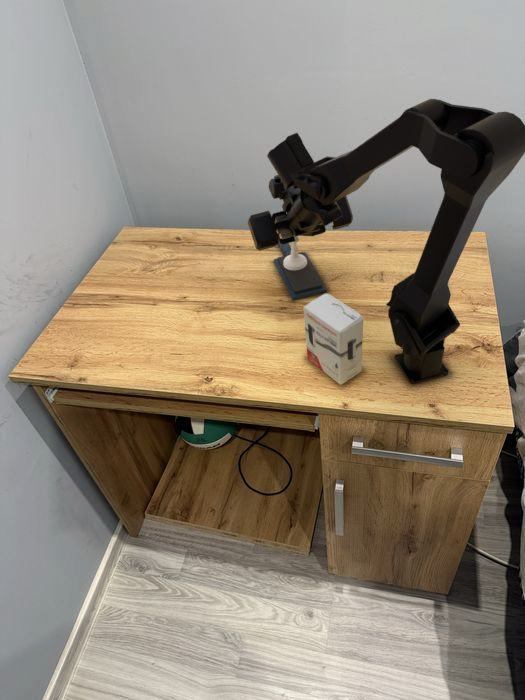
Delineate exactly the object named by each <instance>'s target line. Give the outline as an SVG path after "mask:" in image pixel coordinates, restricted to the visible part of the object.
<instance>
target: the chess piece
mask: <svg viewBox="0 0 525 700" xmlns="http://www.w3.org/2000/svg"><path fill="white" fill-rule="evenodd" d="M294 238H295V241H294V242H290V243H289V244H291V245H290V247H291V255H288V256H287V257H285V259H284V261H283V265H284V267H285V268H286V269H289V270H300V269H302V268H304V267H305V266H306V265H307V259H306V257H305V256H303V255H301V254H298V253H299V250H298V249H299V248H298V245H297V243H298V242H299V241H300V238H299V236H297V237H295V236H294Z"/></svg>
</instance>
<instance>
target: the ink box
mask: <svg viewBox="0 0 525 700" xmlns="http://www.w3.org/2000/svg"><path fill="white" fill-rule="evenodd" d="M302 309H303V320H304V321H303V322H304V333H305V343H306V345H305V346H306V358H307V360H308V361H310V362H311V363H312V364H313V365H315V366H316V367H317V368H318V369H320V370H321V371H322V372H323V373H324V374H326V375H327V376H329V377H330V378H331V379H332V380H334V381H335V382H336V383H337V384H339V385H340V386H342V385H344V384H345V383H346V382H348V381H350V380H351V379H352V378H354V377H356V376H357V375H359V374H360V373H361V372H362V370H363V347H364V345H363V343H364V342H363V339H364V317H363V316H362V314H361V313H360V312H358V311H356V310H355V309H353V308H352V307H350V306H348V305H347V304H345V302H344V303H343V302H342V301H340V300H339V299H338V298H336V297H334V296H333V295H331V294H330V293H327V292H326V293H322V295H320V296H318V297H317V298H315V299H313V300H312V301H310V302H308V303H307V304H304V305H303V307H302Z"/></svg>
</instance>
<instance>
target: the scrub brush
mask: <svg viewBox="0 0 525 700" xmlns="http://www.w3.org/2000/svg"><path fill="white" fill-rule="evenodd" d="M278 246H279V248H280V250H281V252H282V253H283V256H278V257H277V258H274V259H273V263H274V265H275V268H276V270H277V272H278V274H279V276H280V277H281V280H282V282H283V284H284V286H285V288H286V291H287V292H288V294H289V296H290V299H291V300H292V301H296V300H300V299H305V298H309V297H313V296H317V295H321V294H322V295H323V294H326V293H327V292H328V288H327V287H326V285H325V283H324V282H323V280H322V278H321V277H320V275H319V273H318V272H317V269H316V268H315V266H314V265H313V263H312V261H311V259H310V258H309V256H308V254H307V252H306V251H300V252H298V254H301V255H303V256H305V257H306V259H307V265H306V266H305V267H304V268H302V269H300V270H289V269H286V268H285V267H284V265H283V261H284V259H285V257H287V256H288V255H291V245H290V243H287V244H280V243H279V244H278Z"/></svg>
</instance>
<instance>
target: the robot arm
mask: <svg viewBox="0 0 525 700" xmlns="http://www.w3.org/2000/svg"><path fill="white" fill-rule="evenodd" d="M413 147H414V148H416V149H418V150H419V152H420V153H421V154H422V156H423V157H424V158H425V159H426V161H427V162H428V163H429V164H430V165H432V166H434V167H436V168H439V169H441V170H440V180H441V181H440V182H441V185H442V188H443V197H442V199H441V200H442V201H441V203H440V206H439V208H438V210H437V214H436V216H435V219H434V221H433V224H432V226H431V229H430V232H429V234H428V236H427V240H426V242H425V245H424V247H423V249H422V253H421V255H420V258H419V261H418V263H417V266H416V269H415V271H414V272H413V273H412V274H409V276H407V277H405V278H404V279H402V280H401V281H399V282H398V283H396V284H394V285H393V288H392V290H391V294H390V299H389V301H388V302H386V304H385V306H387V307H388V312H387V314H388V319H389V322H390V323H389V324H390V327H391V331H392V335H393V336H392V337H393V340H394V343H395V345H396V346H398V347H400V349H401V352H400V353H397V354H394V356H393V359H394V361H395V362H396V364H397V365H398V368H399V369H400V370H401V371H402V373H403V374H404V376H405V378H407V381H408V383H410V384H412V385H414V384H418V383H423V382H426V381H429V380H433V379H437V378H440V377H445V376H447V375H449V373H450V372H449V369H448V368H447V366H446V365H445V364H444V362H443V361H444V360H443V359H444V354H445V349H446V347H445V342H446V341H445V340H446V339H447V338H448V337H450V335H452V334H454V333H455V332H456V331H457V330H458V329H459V328H460V327H461V323H460V321H459V319H458V317H457V316H456V314H455V312H454V311H453V309H452V307H451V306H450V301H451V295H452V293H451V290H450V287H449V282H450V279H451V277H452V275H453V273H454V270H455V268H456V266H457V264H458V262H459V260H460V259H461V256H462V254H463V251H464V249H465V247H466V245H467V243H468V240H469V238H470V236H471V234H472V232H473V230H474V228H475V225H476V223H477V221H478V219H479V216H480V215H481V212H482V210H483V208H484V206H485V204H486V202H487V200H488V199H489V197H491V195H492V194H493V193H494V192H495V191H496V189H498V187H499V186H500V185H502V183H503V182H504V181H505V180H506V179H507V178H508V177H509V176H510V174H511V173H512V172H513V170H514V169H515V167H516V166H517V165H518V163H519V162H520V160H521V159H522V158H523V156H524V155H525V123H524V122H523V120H522V119H521V118H520V117H518V115H516V114H515V113H513V112H510V111H509V112H508V111H497V112H495V111H492V110H489V109H487V108H483V107H475V106H469V105H468V106H467V105H460V104H452V103H450V102H448V101H445V100H442V99H437V98H428V99H427V100H424V101H422V102H420V103H418V104H416V105H414V106H411V107H409V108H407V109H405V110H404V111H403V112H402V114H401V115H399V117H398V118H396V119H394V121H392V122H390V123H389V124H388V125H386V126H385V127H383V128H382V129H381V130H379V131H377V132H376V133H375V134H374V135H373V136H370V138H368V139H367V140H366V141H364V142H363V143H361V144H359V146H357V147H355V148H354V149H353V150H350V151H348V152H344V153H342V154H341V155H338V156H325V157H322V158H321V159H318V160H316V161H314V159H313V157H312V156H311V153H309V151H308V149H307V148H306V145H305V144H304V142H303V139H302V138H301V136H300V134H299V133H298V132H294V133H292V134H290V135H288V136H287V137H286V138H285V140H283V141H281V142H280V143H278V144H277V145H276V146H275V147H273V148H272V149H270V150H269V151H268V153H267V155H266V156H267V159H268V161H269V162H270V164H271V166H272V167H273V169H274V170H275V172H276V174H275V175H274V176H273V178H271V179H270V180H269V181H268V190H269V192H270V195H271V197H272V199H274V200H275V199H279V201H281V200H282V202H283V203H282V205H281V207H282V210H280V211H277V212H273V213H271V211H269V210H265V211H262V212H257V213H255V214H251V215H250V216H249V218H248V220H247V225H248V228H249V232H250V235H251V238H252V240H253V245H254V247H255V249H256V250H257V251H259V252H261V251H266V250H268V249H272V248H275V247H276V246H279V243H280V244H287V243H289V244H291V243H290V242H294V241H295V238H294V236H295V237H315V236H318V235H322V234H325V233H326V232H327V229H326V227H327V226H328V225H330V224H333V225H332V226H331V227H332V230H339V229H342V228H343V229H344V228H346V227H349V226H350V225H351V224H352V222H353V221H354V215H353V212H352V209H351V206H350V202H349V200H348V197H347V196H349V195H350V194H353V193H354V192H356V191H358V190H359V189H360V188H361V187H362V186H363V185H364V184H365V183H366V182H367V181H368V180H369V179H370V177H371V175H372V174H373V173H374V172H375V171H376V170H378V169H379V168H381V167H382V166H384V165H386V164H387V163H389V162H391V161H392V160H394V159H395V158H397V157H399V156H401V155H402V154H403V153H405V152H407V151H409V150H410V149H412V148H413Z"/></svg>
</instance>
